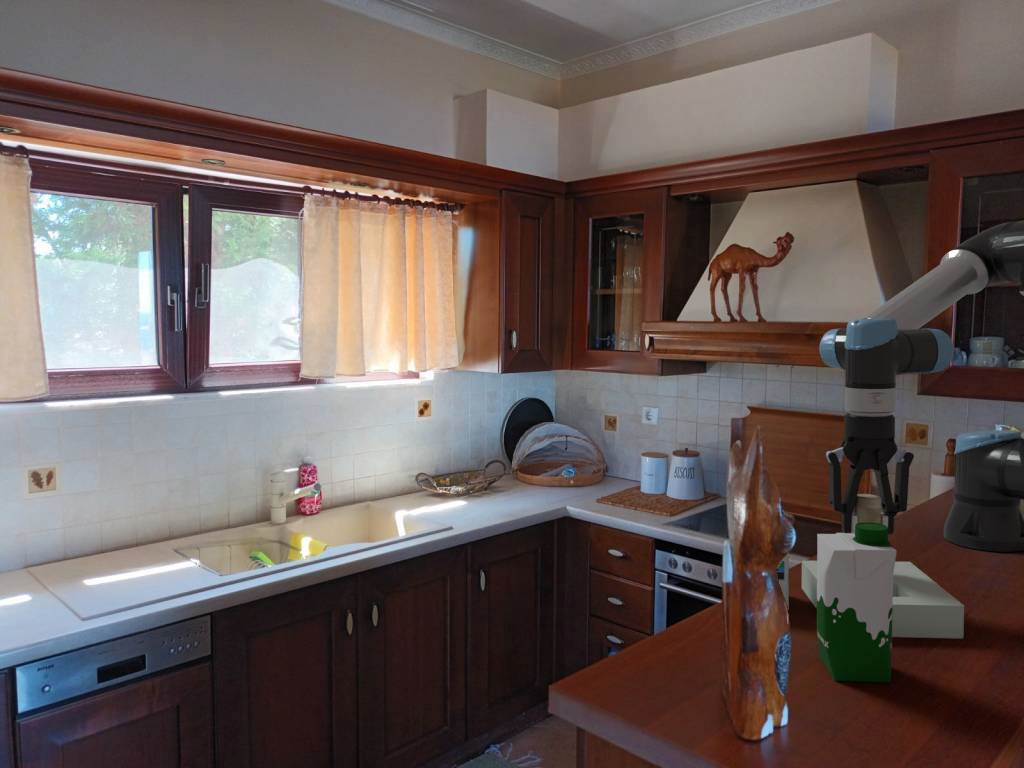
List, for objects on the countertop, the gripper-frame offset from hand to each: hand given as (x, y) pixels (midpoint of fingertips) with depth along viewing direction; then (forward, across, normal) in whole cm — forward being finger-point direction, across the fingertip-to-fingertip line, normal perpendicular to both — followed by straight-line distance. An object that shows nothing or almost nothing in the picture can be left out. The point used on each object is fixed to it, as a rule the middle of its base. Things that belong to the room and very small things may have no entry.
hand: (866, 552), depth 126 cm
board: (+9, 0, -4) cm, 9 cm away
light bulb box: (+9, -17, -1) cm, 19 cm away
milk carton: (+9, -10, -25) cm, 28 cm away
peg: (+3, 0, 0) cm, 3 cm away
